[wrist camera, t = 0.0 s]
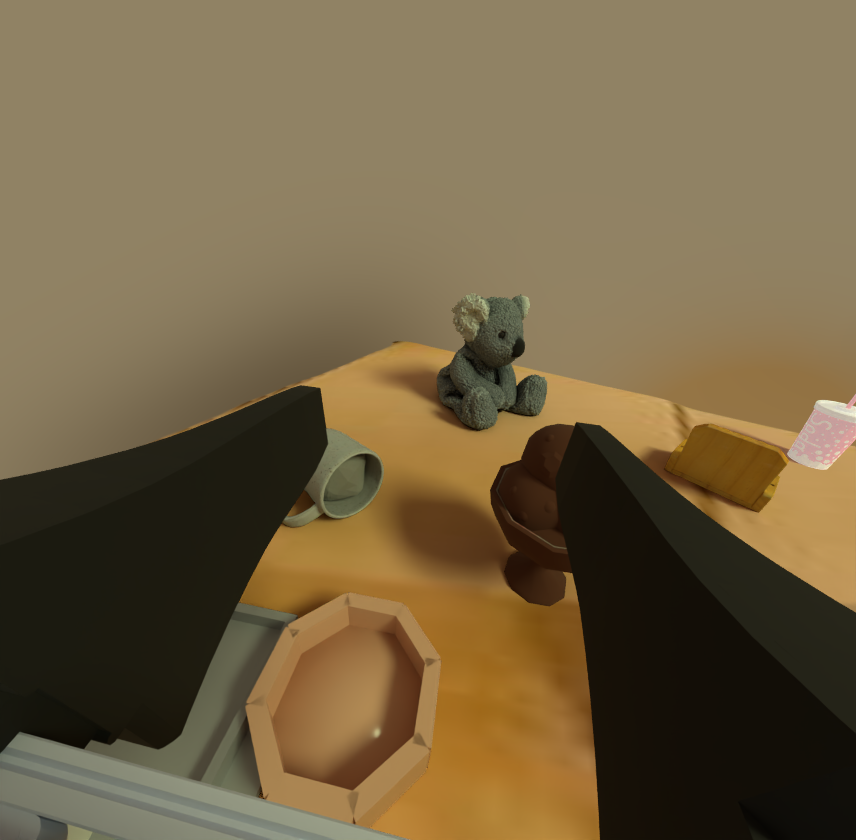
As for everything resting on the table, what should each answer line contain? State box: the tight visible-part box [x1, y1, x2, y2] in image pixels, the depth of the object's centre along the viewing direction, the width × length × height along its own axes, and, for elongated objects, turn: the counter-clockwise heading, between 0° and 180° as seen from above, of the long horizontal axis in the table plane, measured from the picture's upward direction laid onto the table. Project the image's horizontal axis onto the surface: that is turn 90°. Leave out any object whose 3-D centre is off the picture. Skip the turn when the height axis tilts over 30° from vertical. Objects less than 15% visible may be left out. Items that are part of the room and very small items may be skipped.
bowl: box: [245, 592, 441, 828], centre depth 21 cm, size 11×11×3 cm
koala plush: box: [437, 293, 547, 430], centre depth 57 cm, size 17×18×20 cm
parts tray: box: [84, 603, 298, 840], centre depth 18 cm, size 17×17×2 cm
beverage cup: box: [787, 394, 856, 470], centre depth 48 cm, size 6×6×14 cm
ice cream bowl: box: [490, 424, 575, 606], centre depth 27 cm, size 11×11×15 cm
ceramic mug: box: [282, 428, 384, 527], centre depth 35 cm, size 11×8×8 cm
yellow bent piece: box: [664, 424, 789, 513], centre depth 43 cm, size 10×10×9 cm
